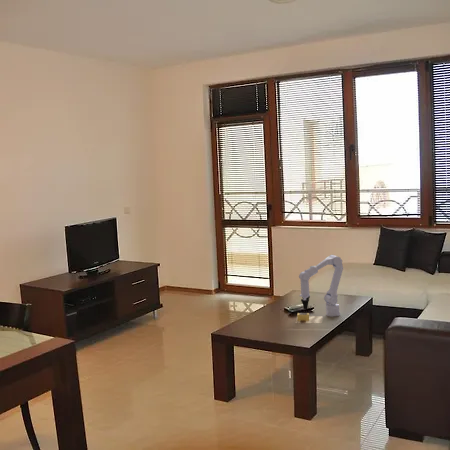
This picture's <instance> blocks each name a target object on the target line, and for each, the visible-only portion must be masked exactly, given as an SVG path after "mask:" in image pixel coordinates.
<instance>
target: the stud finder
mask: <svg viewBox="0 0 450 450" xmlns="http://www.w3.org/2000/svg"><path fill="white" fill-rule="evenodd" d="M309 316H310V313H309V312H297V316H296V319H297V321H309Z"/></svg>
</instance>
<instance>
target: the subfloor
mask: <svg viewBox="0 0 450 450" xmlns="http://www.w3.org/2000/svg"><path fill="white" fill-rule="evenodd" d="M322 323H323V315H321V316H319V315H317V316H314V315H313V316H311V315H309V321H297V318H296V320H295V322H294V324H300V325H301V324H302V325H303V324H304V325H305V324H322Z"/></svg>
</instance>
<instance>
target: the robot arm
mask: <svg viewBox="0 0 450 450" xmlns="http://www.w3.org/2000/svg"><path fill="white" fill-rule="evenodd" d="M328 265H329V266H331V265H332V266H333V268H334V270H333V275H332V278H331V283H330V285H329V290H328V291H326V294H325V295H324V297H323V300H324V302H325V313H326V314H325V315H326V316H328V317H340V314H341V313H340V304H337V303H338V289H339V284H340V282H341V277H342V274H343V270H344V266H343V260H342V258H341V257H340V256H338V255H335V254H330V255H329V256H326V258H324V259H323V260H322V261H320V262H318V264H316V265H311V266H309V268H307V269H305V270H303V271H301V272H300V273H299V274H298V278H299V279H300V294H299V297H301V299H300V302H301V304H302V306H303V310H307V309H308V307H309V301H310V297H311V294H310V282H309V280H310V278H311V277H313V276H315V275H316V274H318V273H319V270H321V269H322V268H324V267H326V266H328Z"/></svg>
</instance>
